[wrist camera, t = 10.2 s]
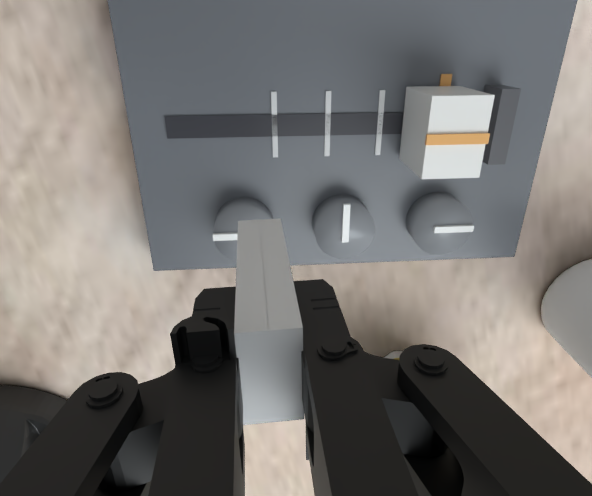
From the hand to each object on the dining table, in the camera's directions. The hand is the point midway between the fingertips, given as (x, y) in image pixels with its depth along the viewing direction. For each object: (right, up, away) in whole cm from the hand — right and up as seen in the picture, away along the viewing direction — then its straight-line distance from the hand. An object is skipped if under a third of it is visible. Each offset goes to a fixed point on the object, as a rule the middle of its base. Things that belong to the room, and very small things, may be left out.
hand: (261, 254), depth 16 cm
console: (+4, +7, +11) cm, 14 cm away
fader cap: (+9, +7, +9) cm, 15 cm away
